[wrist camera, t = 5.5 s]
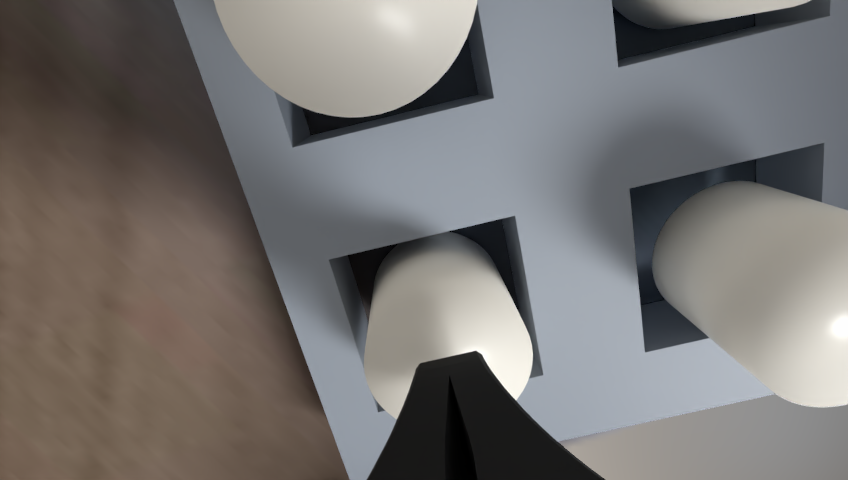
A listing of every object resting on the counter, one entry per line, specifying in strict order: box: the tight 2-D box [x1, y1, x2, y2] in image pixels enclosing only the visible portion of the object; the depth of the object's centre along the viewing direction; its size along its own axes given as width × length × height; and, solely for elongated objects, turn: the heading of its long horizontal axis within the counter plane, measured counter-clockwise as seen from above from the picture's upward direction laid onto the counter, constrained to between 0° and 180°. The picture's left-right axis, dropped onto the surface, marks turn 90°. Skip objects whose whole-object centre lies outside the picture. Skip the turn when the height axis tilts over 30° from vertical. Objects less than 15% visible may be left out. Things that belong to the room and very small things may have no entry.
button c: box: [364, 232, 533, 419], centre depth 13 cm, size 4×4×4 cm
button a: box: [652, 181, 848, 407], centre depth 11 cm, size 4×4×4 cm
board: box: [174, 0, 848, 480], centre depth 13 cm, size 16×18×2 cm
